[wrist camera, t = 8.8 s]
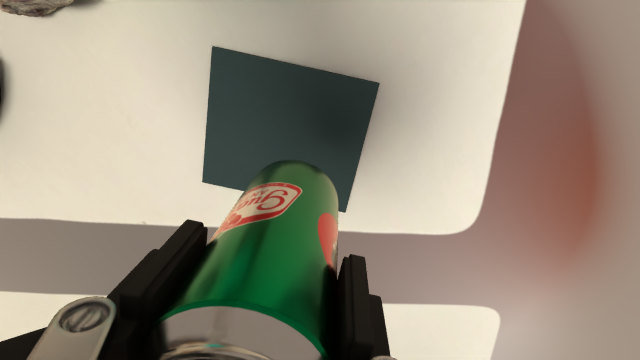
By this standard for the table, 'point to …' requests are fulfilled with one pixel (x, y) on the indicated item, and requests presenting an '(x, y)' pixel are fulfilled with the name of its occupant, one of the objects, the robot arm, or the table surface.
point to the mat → (283, 120)
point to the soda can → (260, 277)
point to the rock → (32, 6)
